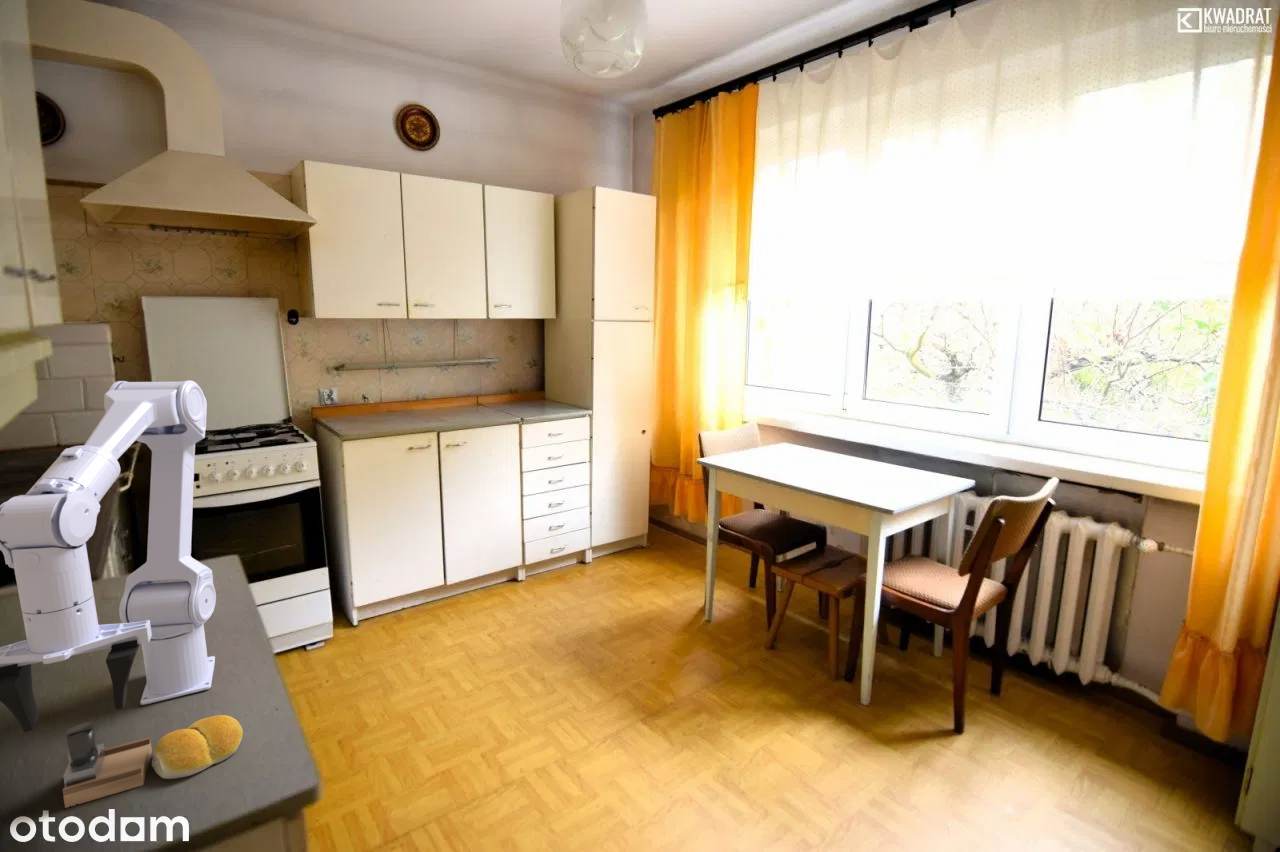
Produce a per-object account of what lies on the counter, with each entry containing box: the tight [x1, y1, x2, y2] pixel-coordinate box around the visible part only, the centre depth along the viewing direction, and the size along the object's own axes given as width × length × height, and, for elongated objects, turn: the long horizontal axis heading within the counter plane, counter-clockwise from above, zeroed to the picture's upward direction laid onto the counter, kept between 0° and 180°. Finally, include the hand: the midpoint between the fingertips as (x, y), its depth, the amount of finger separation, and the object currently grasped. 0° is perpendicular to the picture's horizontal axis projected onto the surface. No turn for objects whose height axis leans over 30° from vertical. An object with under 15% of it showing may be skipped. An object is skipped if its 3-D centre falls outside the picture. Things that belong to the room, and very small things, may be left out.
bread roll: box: [151, 714, 244, 780], centre depth 76 cm, size 8×9×4 cm
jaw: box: [63, 722, 106, 787], centre depth 70 cm, size 5×3×5 cm, turn 31°
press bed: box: [62, 736, 153, 809], centre depth 71 cm, size 6×7×2 cm
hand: (77, 715), depth 69 cm, fingers open, 7 cm apart
